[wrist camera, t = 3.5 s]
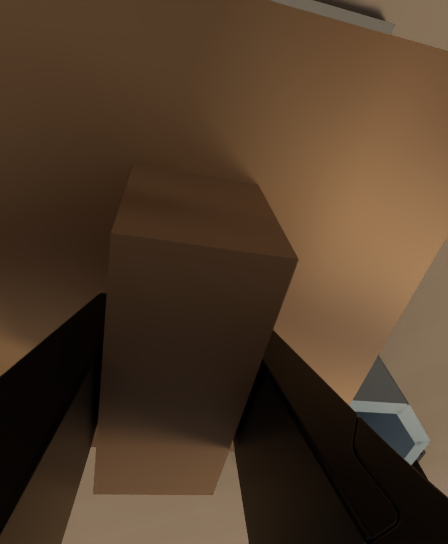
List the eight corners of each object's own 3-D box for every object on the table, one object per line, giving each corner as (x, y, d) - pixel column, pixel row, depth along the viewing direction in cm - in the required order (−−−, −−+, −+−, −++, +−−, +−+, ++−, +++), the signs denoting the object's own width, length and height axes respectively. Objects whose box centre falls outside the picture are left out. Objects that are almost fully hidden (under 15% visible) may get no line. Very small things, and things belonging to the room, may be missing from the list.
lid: (312, 428, 14) (355, 552, 11) (-47, 412, 12) (-138, 566, 8) (500, 72, 8) (736, 100, 5) (-171, -116, 6) (-701, -346, 2)
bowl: (344, 426, 30) (378, 506, 25) (221, 421, 28) (231, 506, 23) (400, 331, 25) (457, 407, 20) (256, 316, 23) (278, 395, 18)
